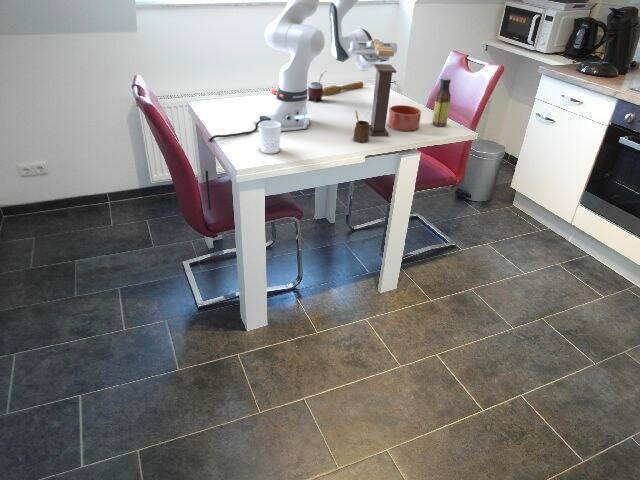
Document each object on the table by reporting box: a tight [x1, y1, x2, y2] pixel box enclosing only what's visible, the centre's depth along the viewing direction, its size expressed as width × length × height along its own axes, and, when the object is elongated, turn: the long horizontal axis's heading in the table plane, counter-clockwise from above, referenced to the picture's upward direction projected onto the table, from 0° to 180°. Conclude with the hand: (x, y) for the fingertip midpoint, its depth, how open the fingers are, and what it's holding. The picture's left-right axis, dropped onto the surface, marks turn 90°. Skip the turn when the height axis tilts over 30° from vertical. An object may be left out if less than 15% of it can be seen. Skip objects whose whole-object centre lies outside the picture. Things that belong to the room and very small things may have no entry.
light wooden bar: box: [372, 38, 395, 57], centre depth 195 cm, size 22×6×2 cm, turn 6°
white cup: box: [258, 120, 282, 154], centre depth 177 cm, size 8×8×10 cm
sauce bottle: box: [432, 77, 452, 127], centre depth 208 cm, size 6×6×20 cm
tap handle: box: [322, 81, 364, 96], centre depth 249 cm, size 3×3×30 cm
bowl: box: [387, 104, 422, 132], centre depth 208 cm, size 13×13×7 cm
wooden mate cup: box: [353, 109, 372, 143], centre depth 190 cm, size 6×6×12 cm
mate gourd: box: [307, 70, 327, 103], centre depth 230 cm, size 8×8×15 cm
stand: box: [369, 63, 397, 137], centre depth 195 cm, size 10×7×26 cm
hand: (376, 42), depth 201 cm, fingers closed on light wooden bar, 2 cm apart
